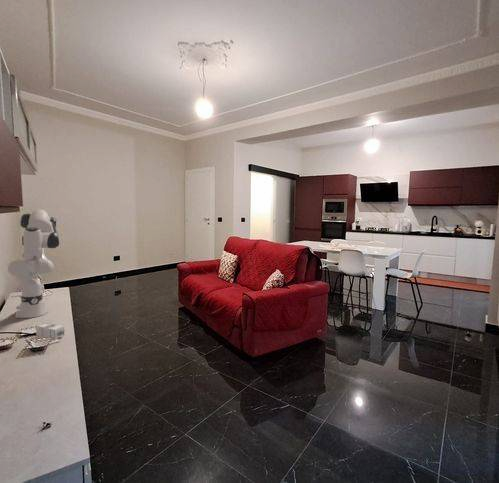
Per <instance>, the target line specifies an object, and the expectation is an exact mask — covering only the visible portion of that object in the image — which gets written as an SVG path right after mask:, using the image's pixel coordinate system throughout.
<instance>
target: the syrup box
mask: <svg viewBox="0 0 499 483" xmlns="http://www.w3.org/2000/svg"><path fill="white" fill-rule="evenodd" d="M64 335H65V327H64V325H58V324H52V323H42V324H39V325H36V326H35V336H42V337H48V338H54V339H59V338H60V337H63V336H64Z"/></svg>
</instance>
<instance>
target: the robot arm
mask: <svg viewBox="0 0 499 483" xmlns="http://www.w3.org/2000/svg"><path fill="white" fill-rule="evenodd" d="M19 224H20V227H21V228H23V229H24V231H23V236H22V237H21V241H22V242H21V245H22V246H23V247H24V248H23V253H22V257H23V259H19V260H18V259H17V260H12V261H11V262H10V263H9V264H8V266H7V272H8V273H9V275H11V276H13V277H14V278H15V279H17V280H18V282H19V283H20V286H21V297H20V299H21V300H20V303H19V305H16V310H15V318H16V319H29V318H31V319H32V318H38V317H40V316H43V315H44V314H47V313H49V310H48V309H46V301H45V300H44V298H43V297H44V296H43V293H42V292H43V291H42V290H43V288H42V286H43V285H42V283H41V282H40V281H39V280H36V279H37V276H46V275H49V274H51V273H52V272H53V271H54V267H55V266H54V263H53V262H52V261H51V260H50V259H48V258H47V256H46V255H45V249H57V248H58V247H59V246H60V244H61V239H60V238H61V237H60V236H59V234H58V232H57V227H58V221H57V219H56V217H52V216H49V214H48V212H47V211H46V210H44V209H39V208H38V209H35V210H33V211H32V212H31V213H24V214H22V215H21V216H20V218H19Z"/></svg>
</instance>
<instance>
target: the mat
mask: <svg viewBox="0 0 499 483" xmlns="http://www.w3.org/2000/svg"><path fill="white" fill-rule="evenodd" d="M36 338H48V337H42V336H37V335H35V336H30V337H26V338H25V339H26V341H27V342H28V343H29V342H30V341H31V340H33V339H36ZM56 343H57V344H58V343H61V340H59V338H57V339H54V338H51V342H50V343H49V344H50V345H53V344H56Z"/></svg>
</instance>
